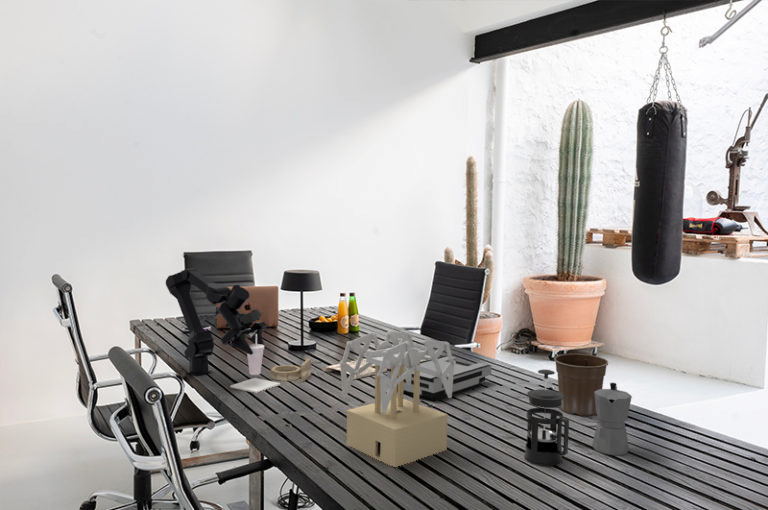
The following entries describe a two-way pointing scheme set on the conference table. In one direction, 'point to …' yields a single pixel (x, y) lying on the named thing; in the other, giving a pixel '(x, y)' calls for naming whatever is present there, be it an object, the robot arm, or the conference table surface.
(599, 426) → the coffeepot
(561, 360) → the plant pot
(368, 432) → the kinetic sculpture
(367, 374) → the newspaper
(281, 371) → the segmented octagon frame
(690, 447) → the conference table surface
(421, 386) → the game console
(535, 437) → the french press
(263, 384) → the coaster
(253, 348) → the smoothie
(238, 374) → the conference table surface
